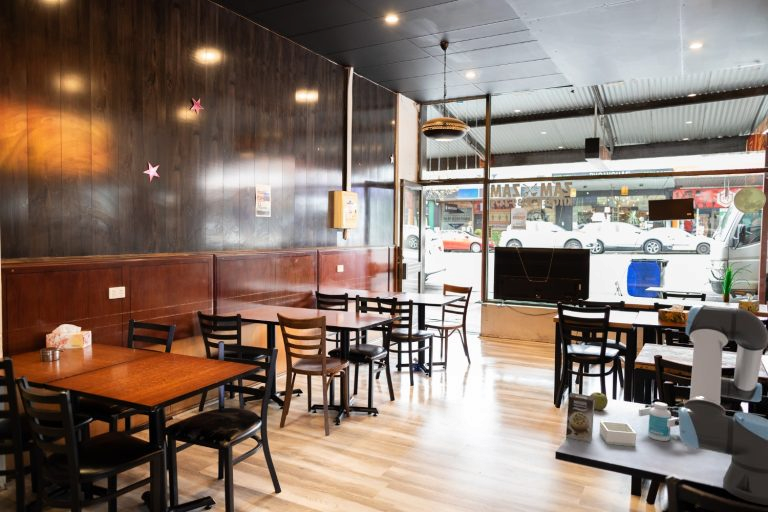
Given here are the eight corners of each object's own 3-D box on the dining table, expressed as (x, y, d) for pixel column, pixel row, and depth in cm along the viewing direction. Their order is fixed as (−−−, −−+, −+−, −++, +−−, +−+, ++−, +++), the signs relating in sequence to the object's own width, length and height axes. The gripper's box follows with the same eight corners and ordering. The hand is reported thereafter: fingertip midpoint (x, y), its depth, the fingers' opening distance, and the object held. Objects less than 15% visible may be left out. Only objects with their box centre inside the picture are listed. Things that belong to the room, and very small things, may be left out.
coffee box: (565, 437, 197) (567, 396, 196) (568, 432, 203) (570, 391, 202) (591, 443, 193) (593, 400, 192) (592, 437, 198) (595, 395, 198)
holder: (635, 446, 191) (636, 433, 191) (606, 443, 192) (607, 430, 192) (627, 435, 201) (627, 423, 201) (599, 433, 202) (600, 421, 202)
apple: (589, 411, 229) (590, 395, 228) (588, 405, 236) (589, 390, 236) (607, 413, 226) (608, 397, 226) (606, 407, 234) (607, 392, 233)
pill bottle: (672, 443, 196) (674, 407, 195) (651, 440, 197) (653, 405, 196) (665, 435, 203) (667, 401, 202) (645, 433, 204) (647, 399, 204)
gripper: (719, 430, 197) (682, 439, 187) (661, 410, 218) (626, 417, 209) (720, 411, 197) (683, 418, 187) (662, 393, 218) (627, 398, 208)
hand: (653, 418), depth 198 cm, fingers open, 11 cm apart
